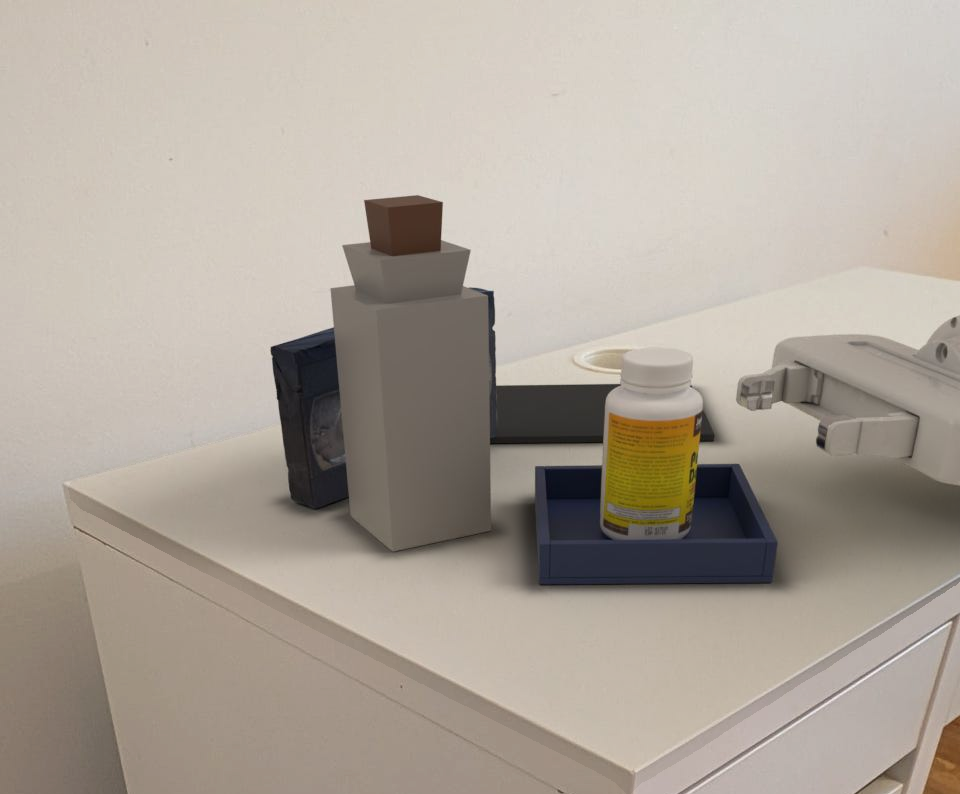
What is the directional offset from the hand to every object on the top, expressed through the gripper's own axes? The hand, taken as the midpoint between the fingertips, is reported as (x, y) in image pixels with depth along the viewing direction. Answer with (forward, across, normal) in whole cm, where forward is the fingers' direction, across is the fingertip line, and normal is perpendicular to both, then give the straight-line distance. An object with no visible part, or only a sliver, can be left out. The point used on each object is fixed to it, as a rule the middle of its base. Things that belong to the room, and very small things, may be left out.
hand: (780, 414), depth 67 cm
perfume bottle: (+20, -8, +7) cm, 23 cm away
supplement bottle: (+8, 0, +6) cm, 10 cm away
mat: (+2, -26, +7) cm, 26 cm away
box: (+8, 0, +7) cm, 11 cm away
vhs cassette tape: (+19, -18, +7) cm, 27 cm away
